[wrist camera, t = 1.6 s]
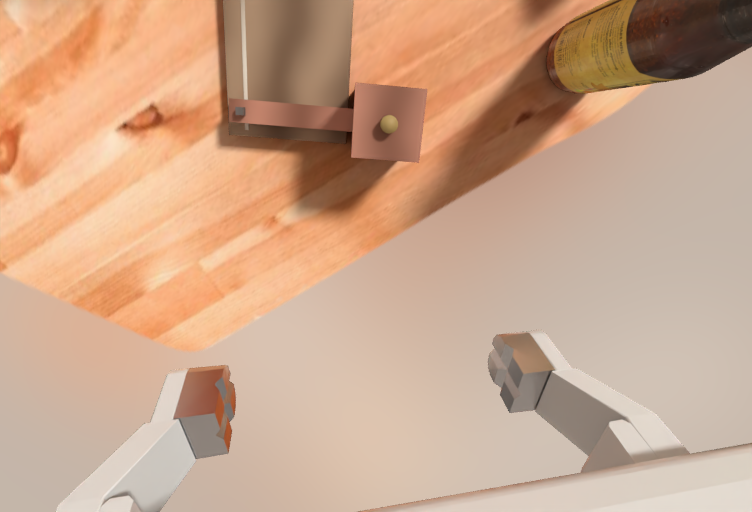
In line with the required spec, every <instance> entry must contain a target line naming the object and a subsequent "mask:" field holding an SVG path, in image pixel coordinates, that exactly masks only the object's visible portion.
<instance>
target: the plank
mask: <svg viewBox="0 0 752 512" xmlns="http://www.w3.org/2000/svg"><path fill="white" fill-rule="evenodd" d="M223 13H224V34H225V55H226V76H227V97H228V98H233V99H245V100H256V101H268V102H280V103H291V104H303V105H314V106H326V107H338V108H348V96H349V77H350V57H351V38H352V18H353V0H223ZM228 119H229V99H228ZM229 135H239V136H252V137H265V138H278V139H290V140H303V141H316V142H329V143H341V144H346V135H347V131H336V130H323V129H311V128H299V127H286V126H274V125H262V124H249V123H237V122H230V120H229Z"/></svg>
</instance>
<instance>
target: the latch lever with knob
mask: <svg viewBox="0 0 752 512" xmlns="http://www.w3.org/2000/svg"><path fill="white" fill-rule="evenodd" d="M426 97H427V89H419V88H408V87H397V86H387V85H376V84H365V83H355V91H354V109H349V108H338V107H326V106H314V105H303V104H291V103H280V102H268V101H256V100H245V99H233V98H228V99H229V120H230V122H237V123H249V124H262V125H274V126H286V127H299V128H311V129H323V130H336V131H348V132H352V145H351V158H365V159H378V160H391V161H404V162H417V163H419V158H420V149H421V140H422V132H423V123H424V114H425V105H426Z"/></svg>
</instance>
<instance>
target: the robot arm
mask: <svg viewBox="0 0 752 512" xmlns="http://www.w3.org/2000/svg"><path fill="white" fill-rule="evenodd" d="M492 344H493V346H494V348H495V349H494V350H493V351H492V352H490V354H489V358H488V369H489V372H490V376H491V378H492V380H493V382H494V383H495V384H496V385H498V386H499V387H501V388H502V389H501V393H500V396H501V397H502V399H503V401H504V403H505V405H506V407H507V409H508V411H509V413H514V412H523V411H532V410H536V412H537V413H538V414H539V415H540V416H541V417H542V418H544V419H545V420H546V421H547V422H548V423H550V424H551V425H552V426H553V427H554V428H556V429H557V430H558V431H559V432H560V433H562V434H563V435H564V436H565V437H566V438H568V439H569V440H570V441H571V442H572V443H573V444H575V445H576V446H577V447H578V448H579V449H581V450H582V451H583V452H584V453H585V454H587V455H588V456H589V457H588V459H587V461H586V462H585V464H584V466H583V467H582V470H581V473H577V474H571V475H565V476H559V477H553V478H548V479H542V480H536V481H531V482H525V483H519V484H513V485H508V486H502V487H497V488H490V489H485V490H480V491H473V492H467V493H462V494H456V495H450V496H444V497H439V498H433V499H427V500H421V501H416V502H410V503H404V504H398V505H393V506H387V507H381V508H376V509H370V510H364V511H358V512H752V443H748V444H743V445H737V446H731V447H725V448H720V449H714V450H709V451H703V452H697V453H692V454H690V453H689V452H688V451H687V450H686V448H685V447H684V446H683V445H682V444H681V442H680V441H679V440H678V439H677V438H676V437H675V435H674V434H673V433H672V432H671V431H670V430H669V429H668V428H667V426H666V425H665V424H664V423H663V422H662V421H661V419H660V418H659V417H658V416H657V415H656V414H655V413H654V412H652V411H650V410H648V409H647V408H645V407H643V406H642V405H640V404H638V403H636V402H635V401H633V400H631V399H629V398H628V397H626V396H624V395H622V394H621V393H619V392H617V391H615V390H614V389H612V388H610V387H608V386H607V385H605V384H603V383H602V382H600V381H598V380H596V379H595V378H593V377H591V376H589V375H587V374H586V373H584V372H583V371H581V370H579V369H577V368H571V366H570V365H569V364H568V362H567V361H566V360H565V358H564V357H563V356H562V354H561V353H560V352H559V350H558V349H557V348H556V347H555V345H554V344H553V343H552V341H551V340H550V338H549V337H548V336H547V335H546V333H545V332H544V331H542V330H534V331H526V332H516V333H508V334H499V335H496V336H495V337H494V339H493V342H492ZM229 379H230V371H229V367H228V366H227V365H221V366H210V367H198V368H189V369H179V370H171V371H170V372H169V373H168V374H167V376H166V379H165V382H164V385H163V387H162V390H161V393H160V396H159V399H158V402H157V405H156V407H155V410H154V413H153V416H152V418H151V421H150V423H144V424H143V425H142V426H141V427H140V428H139V429H138V430H137V431H136V432H135V433H134V434H133V435H131V436H130V437H129V438H128V439H127V440H126V441H125V442H124V443H123V444H122V445H121V446H120V447H119V448H118V449H117V450H116V451H115V452H114V453H113V454H112V455H111V456H109V457H108V458H107V459H106V460H105V461H104V462H103V463H102V464H101V465H100V466H99V467H98V468H97V469H96V470H95V471H94V472H93V473H92V474H91V475H89V476H88V477H87V478H86V479H85V480H84V481H83V482H82V483H81V484H80V485H79V486H78V487H77V488H76V489H75V490H74V491H73V492H72V493H71V494H69V495H68V496H67V497H66V498H65V499H64V500H63V501H62V502H61V503H60V504H59V506H58V508H57V510H56V512H160V510H161V509H162V507H163V506H164V505H165V503H166V502H167V501H168V499H169V498H170V496H171V495H172V493H173V492H174V491H175V489H176V488H177V487H178V485H179V484H180V483H181V481H182V480H183V479H184V477H185V476H186V474H187V473H188V472H189V470H190V469H191V467H192V466H193V465H194V463H195V462H196V459H198V458H204V457H210V456H216V455H222V454H228V452H229V447H230V441H231V434H232V429H231V426H230V423H229V422H230V421H231V420H232V418H233V417H234V415H235V407H236V396H235V388H234V384H233V383H232V382H230V381H229Z"/></svg>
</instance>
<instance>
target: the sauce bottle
mask: <svg viewBox="0 0 752 512" xmlns="http://www.w3.org/2000/svg"><path fill="white" fill-rule="evenodd" d="M750 47H752V0H609V1H607V2H605V3H603V4H601V5H599V6H597V7H595V8H593V9H591V10H589V11H587V12H584V13H582V14H580V15H578V16H577V17H575V18H574V19H572V20H571V21H570V22H569V23H567V24H566V25H565V26H563V27H562V28H560V29H559V30H558V31H557V33H556V35H555V36H554V38H553V39H552V41H551V44H550V47H549V51H548V54H547V71H548V73H549V76H550V79H551V80H552V81H553V82H554V84H555V85H556V86H557V87H558V88H560V89H562V90H564V91H568V92H573V93H582V94H585V93H592V92H599V91H605V90H612V89H618V88H626V87H632V86H640V85H647V84H652V83H659V82H667V81H672V80H678V79H685V78H689V77H693V76H697V75H699V74H702V73H704V72H706V71H708V70H709V69H712V68H713V67H715V66H717V65H719V64H720V63H722V62H724V61H726V60H728V59H730V58H732V57H734V56H735V55H737V54H739V53H741V52H743V51H745V50H746V49H748V48H750Z"/></svg>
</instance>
